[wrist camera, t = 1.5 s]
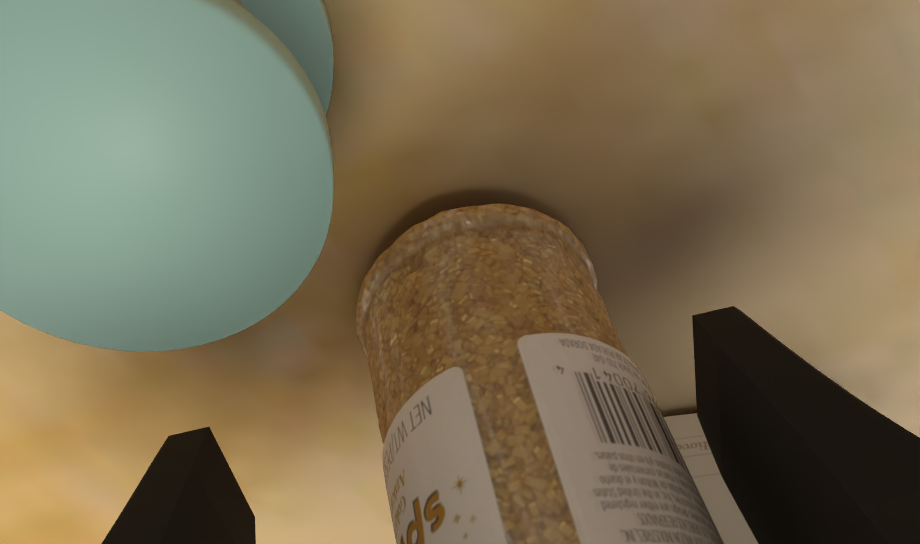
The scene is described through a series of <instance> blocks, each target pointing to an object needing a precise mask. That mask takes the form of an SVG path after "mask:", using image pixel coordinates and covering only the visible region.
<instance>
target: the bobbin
mask: <svg viewBox="0 0 920 544" xmlns="http://www.w3.org/2000/svg"><path fill="white" fill-rule="evenodd" d="M333 70H334V52H333V39H332V31H331V27H330V22H329V18H328V14H327V11H326V8H325V5H324V3H323V0H0V310H1V311H2V312H4V313H6V314H8V315H10V316H11V317H13V318H15V319H17V320H19V321H21V322H22V323H24V324H27V325H29V326H31V327H33V328H36V329H38V330H40V331H43V332H45V333H47V334H50V335H53V336H56V337H59V338H62V339H66V340H69V341H72V342H75V343H80V344H84V345H89V346H93V347H98V348H104V349H112V350H120V351H140V352H154V351H169V350H178V349H184V348H190V347H195V346H200V345H204V344H207V343H211V342H214V341H218V340H221V339H224V338H226V337H228V336H231V335H233V334H236V333H238V332H241V331H243V330H245V329H246V328H248V327H250V326H252V325H254V324H255V323H257V322H259V321H261V320H262V319H264V318H265V317H266V316H268V315H269V314H271V313H272V312H273V311H275V310H276V309H277V308H279V307H280V306H281V305H282V304H283V303H284V302H285V301H286V300H287V299H288V298H289V297H290V296H291V295H292V294H293V293H294V292H295V291H296V290H297V289H298V288H299V286H300V285H301V284H302V282H303V281H304V280H305V279H306V277H307V276H308V275H309V273H310V271H311V270H312V268H313V266H314V264H315V263H316V261H317V259H318V257H319V256H320V253H321V250H322V248H323V245H324V243H325V240H326V237H327V234H328V230H329V225H330V220H331V216H332V205H333V153H332V141H331V136H330V132H329V128H328V124H327V119H326V113H327V110H328V107H329V103H330V98H331V93H332V88H333Z"/></svg>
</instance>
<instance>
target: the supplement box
mask: <svg viewBox="0 0 920 544" xmlns="http://www.w3.org/2000/svg"><path fill="white" fill-rule="evenodd" d="M664 420H665V422H666V424H667V426H668V428H669V430H670V432H671V434H672V436H673V438H674V440H675V443H676V445H677V447H678V449H679V451H680V453H681V455H682V457H683V459H684V461H685V463H686V466H687V468H688V470H689V472H690V474H691V476H692V478H693V480H694V482H695V484H696V486H697V488H698V491H699V493H700V495H701V497H702V499H703V501H704V503H705V505H706V507H707V509H708V511H709V513H710V515H711V518H712V520H713V522H714V524H715V526H716V528H717V530H718V532H719V534H720V536H721V538H722V540H723V543H724V544H758V542H757V540H756V539H755V537H754V535H753V533H752V531H751V530H750V528H749V526H748V524H747V522H746V520H745V519H744V517H743V515H742V513H741V511H740V510H739V508H738V506H737V504H736V502H735V500H734V499H733V497H732V495H731V493H730V491H729V489H728V488H727V486H726V484H725V482H724V480H723V478H722V476H721V474H720V471H719V469H718V467H717V464H716V462H715V459H714V457H713V455H712V452H711V450H710V447H709V445H708V442H707V440H706V437H705V434H704V432H703V429H702V427H701V424H700V422H699V419H698V417H697V413H693V414H685V415H676V416H667V417H664Z"/></svg>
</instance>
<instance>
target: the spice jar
mask: <svg viewBox="0 0 920 544" xmlns="http://www.w3.org/2000/svg"><path fill="white" fill-rule="evenodd" d="M356 333H357V336H358V338H359V340H360V341H361V343H362V347H363V352H364V354H365V355H366V357H367V359H368V362H369V367H370V372H371V377H372V382H373V390H374V395H375V401H376V409H377V415H378V419H379V428H380V432H381V436H382V441H383V444H384V446H383V469H384V476H385V482H386V488H387V494H388V500H389V505H390V511H391V516H392V522H393V527H394V533H395V538H396V543H397V544H724V543H723V540H722V538H721V536H720V534H719V532H718V530H717V528H716V526H715V524H714V522H713V520H712V518H711V515H710V513H709V511H708V509H707V507H706V505H705V503H704V501H703V499H702V497H701V495H700V493H699V491H698V488H697V486H696V484H695V482H694V480H693V478H692V476H691V474H690V472H689V470H688V468H687V466H686V463H685V461H684V459H683V457H682V455H681V453H680V451H679V449H678V447H677V445H676V443H675V440H674V438H673V436H672V434H671V432H670V430H669V428H668V426H667V424H666V422H665V420H664V417H663V415H662V413H661V411H660V409H659V407H658V405H657V403H656V401H655V399H654V397H653V395H652V393H651V391H650V389H649V387H648V385H647V383H646V381H645V379H644V377H643V375H642V373H641V372H640V370H639V369H638V367H637V366H636V365H635V364H634V363H633V362H632V361H631V360H630V359H629V358H628V355H627V353H626V351H625V349H624V348H623V346H622V344H621V342H620V340H619V338H618V335H617V332H616V330H615V328H614V326H613V324H612V322H611V320H610V318H609V314H608V312H607V310H606V307H605V305H604V302H603V300H602V298H601V296H600V295H599V293H598V292H597V279H596V274H595V270H594V267H593V263H592V260H591V259H590V257H589V255H588V253H587V251H586V249H585V247H584V245H583V244H582V242H581V241H580V240H579V239H578V238H577V237H576V236H575V235H574V234H573V233H572V231H571V230H570V229H569V228H568V227H567V226H565V225H564V224H562V223H561V222H559V221H558V220H556V219H554V218H551V217H549V216H548V215H545V214H543V213H541V212H539V211H537V210H534V209H531V208H527V207H521V206H515V205H510V204H488V205H481V206H467V207H462V208H457V209H452V210H446V211H442V212H439V213H437V214H436V215H434V216H433V217H431V218H429V219H427V220H425V221H424V222H421V223H418V224H416V225H414V226H412V227H411V228H410V229H408V230H407V231H406V232H405V233H403V234H402V235H401V236H399V238H398V239H397V240H396V241H395V242H394V243H393V244H392V245H391V246H390V247H389V248H388V249H387V250H385V251H384V252H383V253H382V254H381V255H380V256H379V257H378V258H377V259H376V260H375V263H374V264H373V266H372V268H371V269H370V270H369V271H368V272H367V273H366V275H365V277H364V279H363V282H362V285H361V288H360V292H359V296H358V300H357V311H356Z"/></svg>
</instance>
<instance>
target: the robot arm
mask: <svg viewBox="0 0 920 544" xmlns="http://www.w3.org/2000/svg"><path fill="white" fill-rule="evenodd" d="M692 318H693V339H694V360H695V380H696V401H697V417H698V419H699V422H700V424H701V427H702V429H703V432H704V434H705V437H706V440H707V442H708V445H709V447H710V450H711V452H712V455H713V457H714V459H715V462H716V464H717V467H718V469H719V471H720V474H721V476H722V478H723V480H724V482H725V484H726V486H727V488H728V489H729V491H730V493H731V495H732V497H733V499H734V500H735V502H736V504H737V506H738V508H739V510H740V511H741V513H742V515H743V517H744V519H745V520H746V522H747V524H748V526H749V528H750V530H751V531H752V533H753V535H754V537H755V539H756V540H757V542H758V544H920V438H919V437H918V436H916V435H914V434H913V433H911V432H909V431H908V430H906V429H904V428H903V427H901V426H900V425H898V424H896V423H895V422H893V421H892V420H890V419H889V418H887V417H885V416H884V415H882V414H881V413H879V412H877V411H876V410H874V409H873V408H871V407H870V406H868V405H867V404H865V403H864V402H862V401H861V400H859V399H858V398H856V397H855V396H854V395H852V394H851V393H849V392H848V391H847V390H845V389H844V388H842V387H841V386H839V385H838V384H837V383H835V382H834V381H832V380H831V379H829V378H828V377H827V376H825V375H824V374H822V373H821V372H820V371H818V370H817V369H815V368H814V367H813V366H811V365H810V364H809V363H807V362H806V361H805V360H803V359H802V358H801V357H799V356H798V355H797V354H795V353H794V352H793V351H791V350H790V349H789V348H788V347H786V346H785V345H784V344H782V343H781V342H780V341H778V340H777V339H776V338H775V337H773V336H772V335H771V334H769V333H768V332H767V331H766V330H764V329H763V328H762V327H761V326H759V325H758V324H757V323H756V322H754V321H753V320H752V319H751V318H749V317H748V316H747V315H745V314H744V313H743V312H742V311H740V310H739V309H737V308H736V307H734V306H732V307H728V308H723V309H719V310H715V311H710V312H706V313H702V314H697V315H693V316H692ZM102 544H256V539H255V516H254V514H253V512H252V510H251V508H250V507H249V505H248V503H247V501H246V499H245V497H244V495H243V493H242V491H241V489H240V487H239V485H238V483H237V481H236V479H235V477H234V475H233V473H232V471H231V469H230V467H229V465H228V463H227V461H226V459H225V457H224V455H223V453H222V451H221V449H220V447H219V445H218V443H217V441H216V439H215V437H214V435H213V433H212V431H211V429H210V427H206V428H201V429H197V430H193V431H188V432H184V433H180V434H175V435H171V436H168V438H167V440H166V441H165V443H164V444H163V446H162V447H161V449H160V450H159V452H158V454H157V455H156V457H155V458H154V460H153V462H152V463H151V465H150V466H149V468H148V470H147V471H146V473H145V475H144V476H143V478H142V480H141V481H140V483H139V485H138V486H137V488H136V489H135V491H134V493H133V494H132V496H131V498H130V499H129V501H128V503H127V504H126V506H125V507H124V509H123V511H122V512H121V514H120V516H119V517H118V519H117V520H116V522H115V524H114V525H113V527H112V528H111V530H110V531H109V533H108V534H107V536H106V538H105V539H104V541H103V542H102Z"/></svg>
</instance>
